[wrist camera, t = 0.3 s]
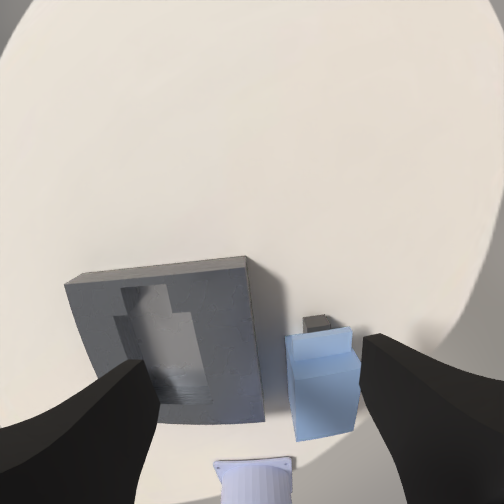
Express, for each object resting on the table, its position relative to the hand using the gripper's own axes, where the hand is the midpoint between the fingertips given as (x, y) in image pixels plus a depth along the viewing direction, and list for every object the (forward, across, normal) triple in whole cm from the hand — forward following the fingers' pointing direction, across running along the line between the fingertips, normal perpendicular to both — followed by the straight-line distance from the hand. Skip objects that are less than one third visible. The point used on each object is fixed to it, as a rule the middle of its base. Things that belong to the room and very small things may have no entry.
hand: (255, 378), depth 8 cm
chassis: (+10, +6, +4) cm, 12 cm away
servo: (+10, -4, +7) cm, 13 cm away
